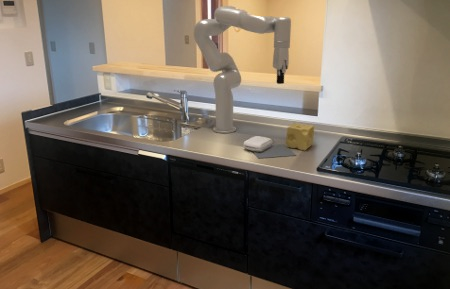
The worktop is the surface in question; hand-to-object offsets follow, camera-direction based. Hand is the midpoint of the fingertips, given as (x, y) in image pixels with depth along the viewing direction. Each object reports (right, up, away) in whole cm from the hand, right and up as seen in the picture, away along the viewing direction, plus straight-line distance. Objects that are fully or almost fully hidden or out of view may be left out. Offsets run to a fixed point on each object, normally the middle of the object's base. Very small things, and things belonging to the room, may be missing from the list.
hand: (280, 83), depth 195 cm
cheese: (+9, -31, +1) cm, 32 cm away
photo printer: (-8, -28, +2) cm, 29 cm away
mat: (-5, -33, -6) cm, 34 cm away
